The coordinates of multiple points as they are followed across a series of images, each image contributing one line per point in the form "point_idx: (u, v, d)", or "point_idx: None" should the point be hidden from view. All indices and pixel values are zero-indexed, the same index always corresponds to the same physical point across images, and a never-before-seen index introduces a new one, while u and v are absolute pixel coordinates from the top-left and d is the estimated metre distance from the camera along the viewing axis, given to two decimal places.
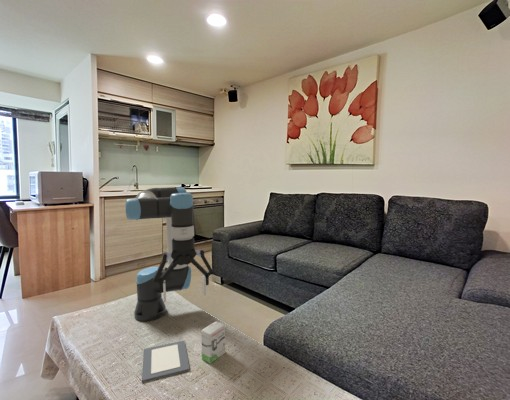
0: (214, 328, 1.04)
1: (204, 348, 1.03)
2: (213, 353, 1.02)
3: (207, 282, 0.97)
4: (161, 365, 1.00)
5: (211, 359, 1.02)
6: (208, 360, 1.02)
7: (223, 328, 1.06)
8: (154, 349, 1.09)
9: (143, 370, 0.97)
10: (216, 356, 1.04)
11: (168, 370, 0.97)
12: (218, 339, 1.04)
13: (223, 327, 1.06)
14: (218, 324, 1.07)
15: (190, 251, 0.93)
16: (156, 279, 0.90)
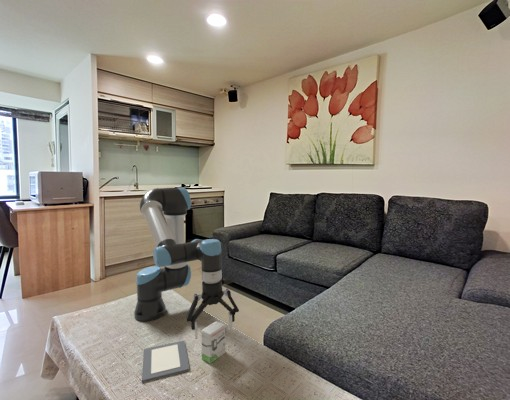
0: (214, 328, 1.04)
1: (204, 348, 1.03)
2: (213, 353, 1.02)
3: (233, 319, 1.07)
4: (161, 365, 1.00)
5: (211, 359, 1.02)
6: (208, 360, 1.02)
7: (223, 328, 1.06)
8: (154, 349, 1.09)
9: (143, 370, 0.97)
10: (216, 356, 1.04)
11: (168, 370, 0.97)
12: (218, 339, 1.04)
13: (223, 327, 1.06)
14: (218, 324, 1.07)
15: (218, 292, 1.04)
16: (189, 319, 1.00)
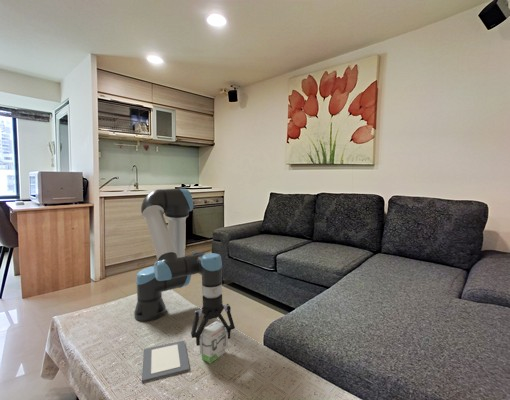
0: (214, 328, 1.04)
1: (204, 348, 1.03)
2: (213, 353, 1.02)
3: (229, 336, 1.07)
4: (161, 365, 1.00)
5: (211, 359, 1.02)
6: (208, 360, 1.02)
7: (223, 328, 1.06)
8: (154, 349, 1.09)
9: (143, 370, 0.97)
10: (216, 356, 1.04)
11: (168, 370, 0.97)
12: (218, 339, 1.04)
13: (223, 327, 1.06)
14: (218, 324, 1.07)
15: (219, 306, 1.04)
16: (194, 335, 1.01)
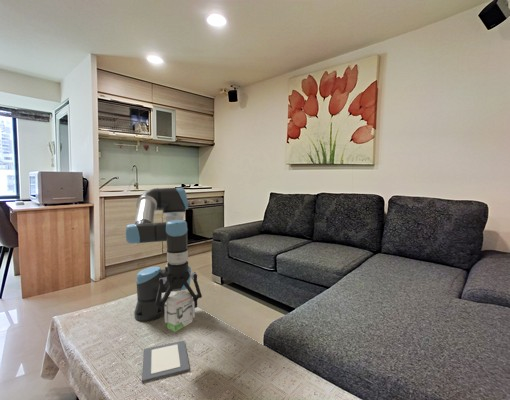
0: (180, 297, 1.02)
1: (169, 316, 1.00)
2: (178, 321, 1.00)
3: (196, 305, 1.05)
4: (161, 365, 1.00)
5: (176, 327, 0.99)
6: (173, 328, 0.99)
7: (190, 297, 1.04)
8: (154, 349, 1.09)
9: (143, 370, 0.97)
10: (182, 325, 1.02)
11: (168, 370, 0.97)
12: (184, 307, 1.02)
13: (190, 296, 1.04)
14: (185, 293, 1.05)
15: (185, 273, 1.02)
16: (158, 302, 0.99)
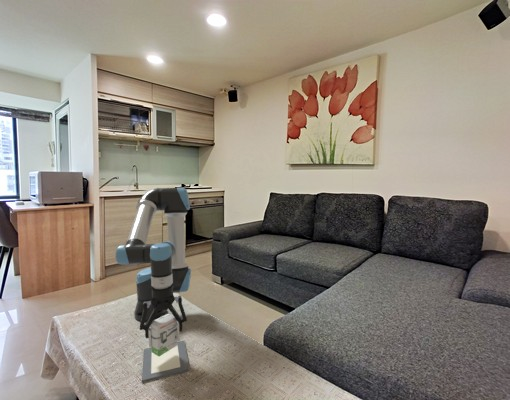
0: (164, 320, 1.01)
1: (153, 340, 1.00)
2: (162, 346, 0.99)
3: (181, 328, 1.04)
4: (161, 365, 1.00)
5: (160, 352, 0.99)
6: (157, 353, 0.99)
7: (174, 320, 1.03)
8: None
9: (143, 370, 0.97)
10: (166, 349, 1.01)
11: (168, 370, 0.97)
12: (168, 331, 1.01)
13: (174, 319, 1.03)
14: (170, 316, 1.04)
15: (169, 297, 1.01)
16: (142, 327, 0.99)
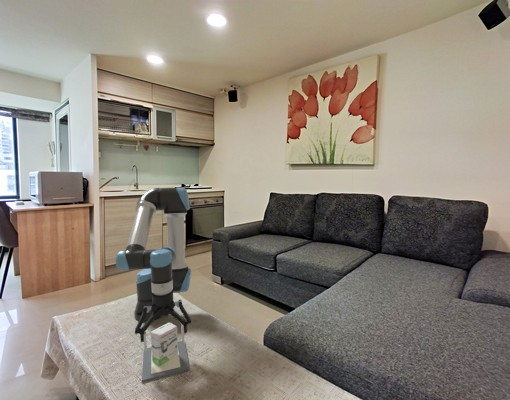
0: (165, 330, 1.02)
1: (154, 350, 1.00)
2: (162, 355, 1.00)
3: (185, 330, 1.05)
4: (161, 365, 1.00)
5: (160, 361, 0.99)
6: (157, 362, 0.99)
7: (175, 329, 1.04)
8: None
9: (143, 370, 0.97)
10: (167, 358, 1.01)
11: (168, 370, 0.97)
12: (169, 341, 1.02)
13: (175, 328, 1.04)
14: (170, 325, 1.05)
15: (169, 303, 1.01)
16: (137, 331, 0.98)
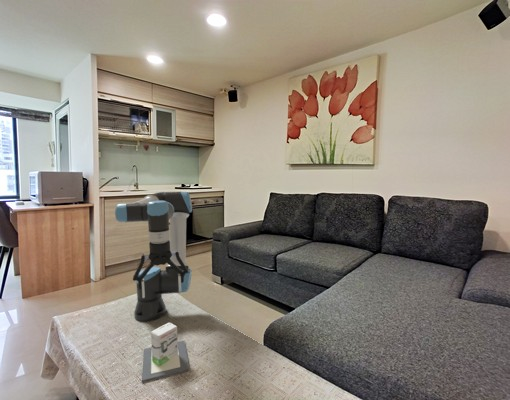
0: (165, 330, 1.02)
1: (154, 350, 1.00)
2: (162, 355, 1.00)
3: (182, 280, 1.08)
4: (161, 365, 1.00)
5: (160, 361, 0.99)
6: (157, 362, 0.99)
7: (175, 329, 1.04)
8: None
9: (143, 370, 0.97)
10: (167, 358, 1.01)
11: (168, 370, 0.97)
12: (169, 341, 1.02)
13: (175, 328, 1.04)
14: (170, 325, 1.05)
15: (166, 253, 1.04)
16: (135, 278, 1.01)
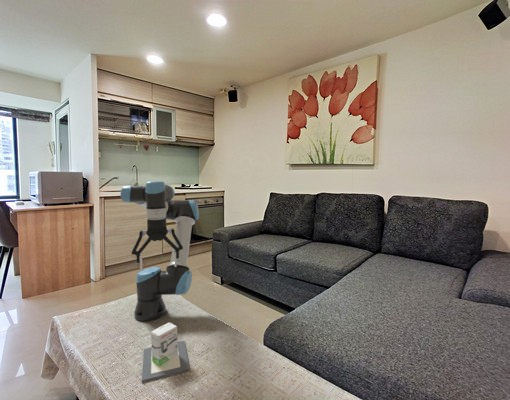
0: (165, 330, 1.02)
1: (154, 350, 1.00)
2: (162, 355, 1.00)
3: (177, 256, 1.16)
4: (161, 365, 1.00)
5: (160, 361, 0.99)
6: (157, 362, 0.99)
7: (175, 329, 1.04)
8: None
9: (143, 370, 0.97)
10: (167, 358, 1.01)
11: (168, 370, 0.97)
12: (169, 341, 1.02)
13: (175, 328, 1.04)
14: (170, 325, 1.05)
15: (162, 229, 1.13)
16: (133, 252, 1.10)
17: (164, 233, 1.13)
